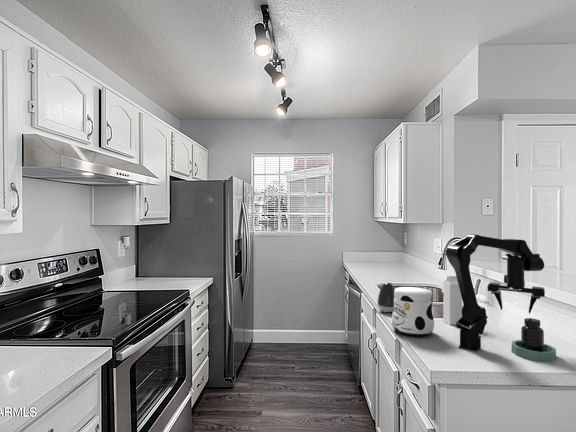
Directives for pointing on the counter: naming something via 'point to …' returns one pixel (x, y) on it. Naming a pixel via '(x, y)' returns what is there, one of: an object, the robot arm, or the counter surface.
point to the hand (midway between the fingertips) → (515, 311)
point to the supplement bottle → (532, 335)
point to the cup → (534, 352)
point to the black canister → (386, 298)
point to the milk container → (413, 311)
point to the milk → (452, 301)
